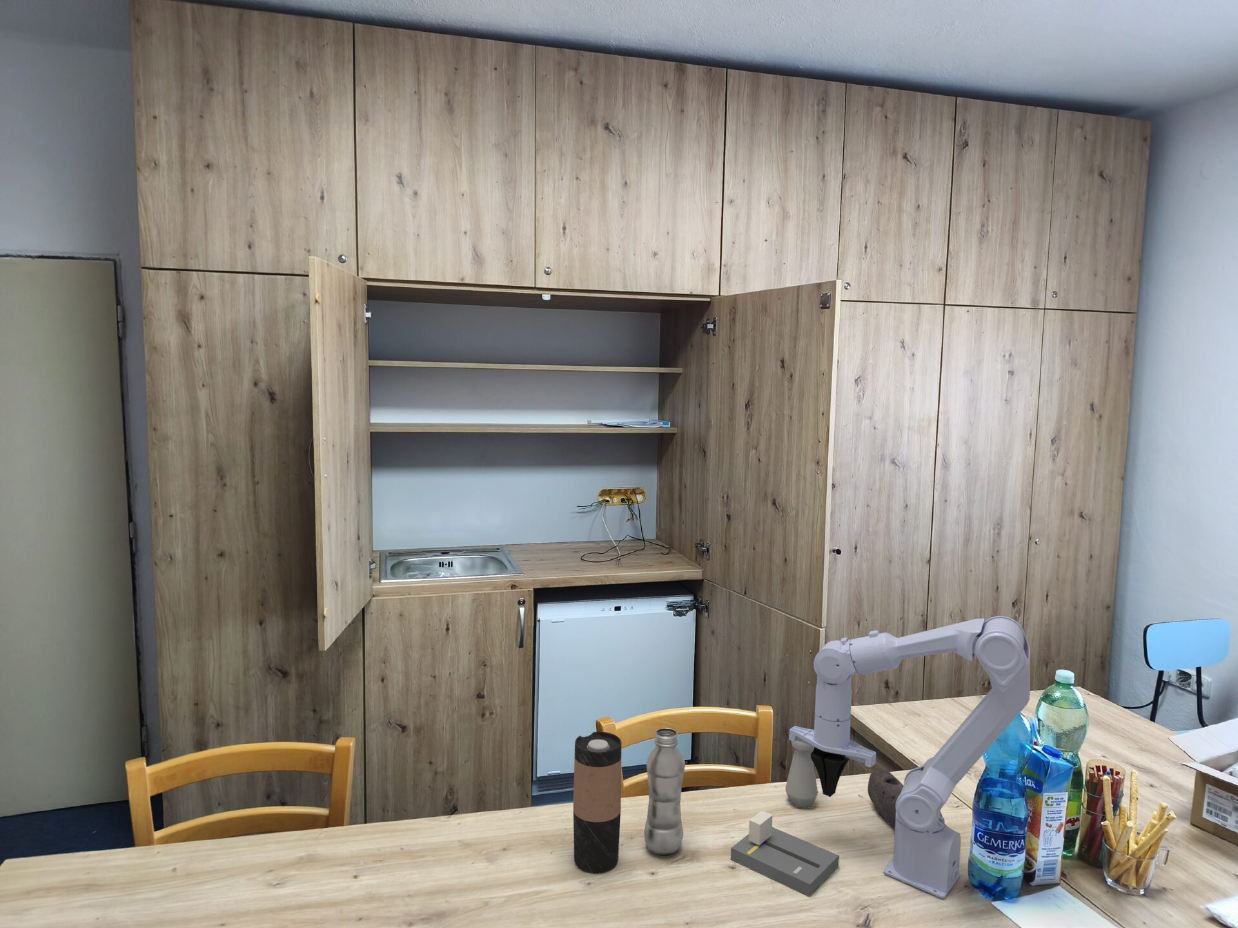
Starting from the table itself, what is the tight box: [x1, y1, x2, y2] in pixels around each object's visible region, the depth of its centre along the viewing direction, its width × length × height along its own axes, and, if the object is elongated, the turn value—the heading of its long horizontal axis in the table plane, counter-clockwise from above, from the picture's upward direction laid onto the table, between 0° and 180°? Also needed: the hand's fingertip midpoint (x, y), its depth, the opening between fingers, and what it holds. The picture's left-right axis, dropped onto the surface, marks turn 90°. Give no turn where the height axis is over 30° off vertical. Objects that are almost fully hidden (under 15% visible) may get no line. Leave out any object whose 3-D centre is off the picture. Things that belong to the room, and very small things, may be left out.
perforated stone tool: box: [867, 769, 904, 829], centre depth 138 cm, size 15×5×7 cm, turn 6°
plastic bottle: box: [643, 727, 686, 856], centre depth 129 cm, size 6×7×20 cm
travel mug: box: [572, 731, 622, 874], centre depth 125 cm, size 8×8×20 cm
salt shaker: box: [785, 740, 819, 809], centre depth 144 cm, size 6×6×13 cm
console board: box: [730, 826, 840, 898], centre depth 126 cm, size 14×10×2 cm
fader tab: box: [748, 810, 773, 845], centre depth 129 cm, size 2×4×4 cm, turn 139°
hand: (829, 793), depth 130 cm, fingers closed
